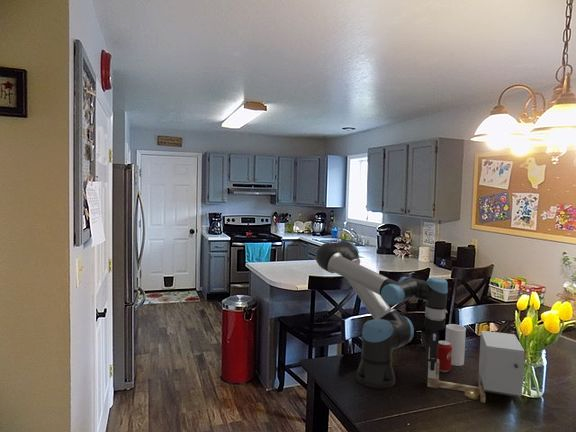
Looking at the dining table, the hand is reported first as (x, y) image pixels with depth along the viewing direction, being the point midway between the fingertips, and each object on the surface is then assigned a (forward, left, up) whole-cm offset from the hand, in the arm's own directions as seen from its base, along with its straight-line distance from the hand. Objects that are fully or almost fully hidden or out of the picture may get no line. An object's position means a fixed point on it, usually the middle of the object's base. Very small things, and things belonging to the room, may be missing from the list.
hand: (431, 370), depth 165 cm
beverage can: (+5, +17, -6) cm, 18 cm away
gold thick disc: (+15, -4, -6) cm, 16 cm away
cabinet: (+24, 0, -6) cm, 25 cm away
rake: (+9, -3, -6) cm, 11 cm away
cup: (+10, +28, -6) cm, 30 cm away
